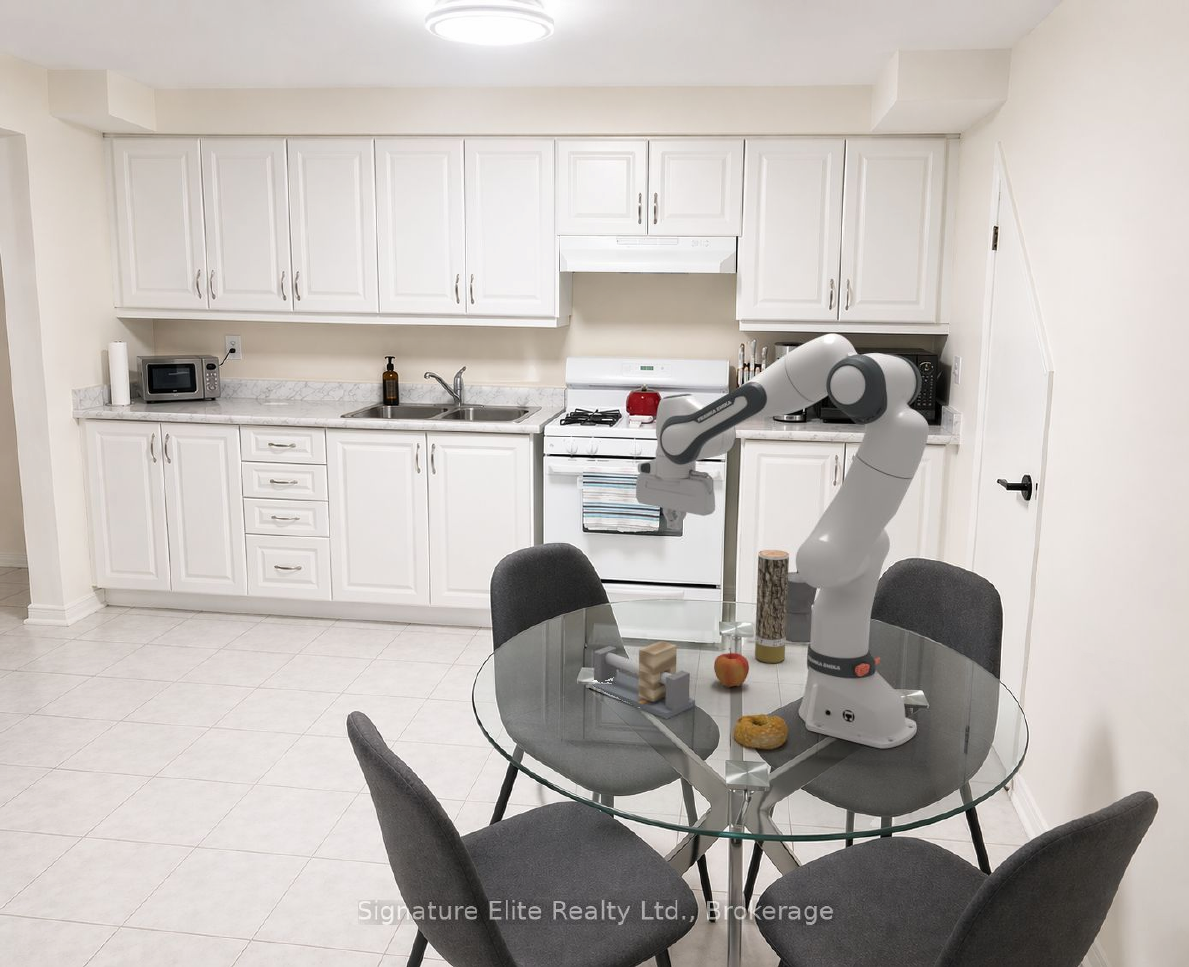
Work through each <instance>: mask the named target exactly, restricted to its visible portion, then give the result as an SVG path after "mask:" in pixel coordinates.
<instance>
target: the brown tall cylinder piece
mask: <svg viewBox="0 0 1189 967" xmlns="http://www.w3.org/2000/svg"><path fill="white" fill-rule="evenodd" d="M789 555H790V554H789V553H788V552H787V551H783V550H778V549H765V550H764V549H763V550H759V551H758V556H757V557H758V558H757V577H756V578H757V579H756V580H757V584H756V585H757V586H756V608H755V609H756V612H755V614H756V615H755V616H756V617H755V636H754V637H755V638H754V639H755V640H754V641H755V645H754V648H755V649H754V657H755V658H756V659H757V660H758V661H759V662H762V663H767V664H777V663H781V662H783V661H784V660H785V656H786V641H787V640H786V617H787V592H788V572H789V564H790V563H789V562H790V556H789Z"/></svg>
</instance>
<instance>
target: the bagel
mask: <svg viewBox="0 0 1189 967" xmlns="http://www.w3.org/2000/svg"><path fill="white" fill-rule="evenodd" d="M736 722H737V723H736V724H735V726H734V730H733V731H734V733H733V736H734V739H735V741H736V742H738V743H739V744H740V745H743V746H744V747H746V748H753V749H759V750H775V749H777V748H778V749H779V747H781V746H782V745H783V744H785V742H786V740H787V737H788V731H789V729H788V726H787V723H786V721H785V720H784V718H781V717H779V716H777V715H773V716H770V715H767V714H763V713H760V714H751V715H749V714H747V715H742V716H740V717H739V718H738V719H737V720H736ZM774 748H775V749H774Z"/></svg>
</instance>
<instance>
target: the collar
mask: <svg viewBox="0 0 1189 967" xmlns="http://www.w3.org/2000/svg"><path fill="white" fill-rule="evenodd" d="M677 648H678V647H677V645H676V644H672V643H670V642H666V641H664V640H661V641H658V642H655V643H653V644H650V645H647V646H645V647H642V648H640V649H638V663H639V675H638V679H639V697H642V698H645V699H647V700H650V701H653V702H654V701H657V700H659V699H661V698H663V697H665V696H666V685H665V684H662V683H660V673H661V672H663V671H664V672H667V673H670V674H675V673H677Z"/></svg>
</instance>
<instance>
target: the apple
mask: <svg viewBox="0 0 1189 967" xmlns="http://www.w3.org/2000/svg"><path fill="white" fill-rule="evenodd" d="M728 649H729V653H728V652H727V653H722V654H720V655H718V656H716V657H715V659H714V663H713V664H714V665H713V666H714V667H713V670H714V674H715V676H716V678H717V680H718V681H719V682H720V683H721V684H722V685H724V686H725V687H726V689H727V688H728V689H730V688H731V687H735V686H736V687H738V686H741V685H742V684H743V683H744V682H745V681H746V679H747V677H748V675H749V671H750V665H749V664H750V663H749V661H748V659H747V658H746V657H745V656H744V655H742V654H740V653H737V652H732V651H731V647H729V648H728Z"/></svg>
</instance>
